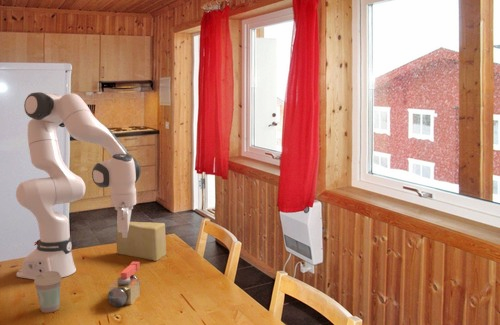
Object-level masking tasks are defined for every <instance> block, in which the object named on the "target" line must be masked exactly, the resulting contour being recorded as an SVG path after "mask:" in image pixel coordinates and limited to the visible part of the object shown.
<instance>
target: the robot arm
mask: <svg viewBox="0 0 500 325" xmlns="http://www.w3.org/2000/svg"><path fill="white" fill-rule="evenodd" d="M23 106H24V112H25V114H26V115H27V116H28V117H29V118H31V119H30V120H29V121H28V123H27V143H28V151H29V155H30V162H31V164H32V166H33V167H35V168H36V169H39V170H41V171H43V172H46V174H48V176H49V177H41V178H32V179H29V180H26V181H23V182H20V183H19V184H18V186H17V187H16V191H15V197H16V200H17V202H18V204H19V205H21V206H22V207H23V208H25V209H27V210H28V211H29V212H31V213H32V214H33V216H34V217H35V218H36V220H37V226H38V231H39V239H38V240H36V241H35V242H34V244H33V245H34V246H36V248H35V249H34V250H33V251H32V252H30V253H29V254H28V255H27V256H25V257H24V260H23V261H22V268H20V269H19V270H18V271H16V278H17V277H18V278H24V279H29V280H33V281H34V280H35V277H36V275H38V274H40V273H42V272H47V271H56V272H59V274H60V276H61V278H62V279H63V278H65V277H68V276H71V275H72V274H74V273H75V272H76V271H77V268H76V265H75V262H74V257H73V254H72V249H73V248H72V247H73V246H72V237H71V234H70V220H69V218H68V217H67V215H66V214H63V213H61V212H58V211H55V210H54V209H53V206H55V205H61V204H69V203H73V202H76V201H79V200H82V198H83V197H84V196H85V194H86V187H87V186H86V183H85V181H84V180H83V178H82V177H81V176H80V175H77V174H76V173H74V172H73V171H71V170H70V169H69V168H68V166H67V164H66V163H65V162H64V160H63V156H62V153H61V149H60V148H61V147H60V144H59V139H58V134H57V130H58V127H61V128H65V129H66V131H67V132H68V134H69V135H70V136H71V137H72V138H73V139H75V140H77V141H79V142H81V143H82V142H83V143H90V144H94V145H98V146H101V147H103V148H104V149H105V150H106V151H107V152H108V153H109V154H110V156H111V157H110V158H109V159H106V160H103V161H99V162H97V163H95V165H94V166H93V168H92V172H91V177H92V181H93V183H94V184H95V185H96V186H97V187H99V188H101V189H102V188H105V189H107V188H110V205H111V206H112V207H114V210H116V211H117V214H116V216H117V218H116V220H117V222H116V230H117V229H118V232H122V237H123V238H127V235H128V230H129V223H130V222H131V216H132V210H133V209H134V206H135V205H137V189H136V183H137V181H139V179H140V177H141V173H142V169H141V165H140V163H139V162H138V160H136V158H135V157H133V155H131V154H130V153H129V151H128V150H127V149H126V147H125V146H124V145H123V144H122V143H121V142H120V140H119V139H118V138H117V136H116V135H115V133H113V131H112V130H111V129H109V127H107V126H105V125H104V124H102V123H101V122H100V121H99V120H98V119H97V118H96V117H95V116H94V114H93V112H92V110H91V109H90V107H89V106H88V104H87V103H86V102H85V101H84V100H83V98H81V96H80V95H78V94H76V93H71V92H70V93H66V94H63V95H60V94H55V93H46V92H45V93H43V92H42V91H41V92H40V91H39V92H32V93H29V94H28V95H27V97H26V98H25V100H24V105H23Z"/></svg>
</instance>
